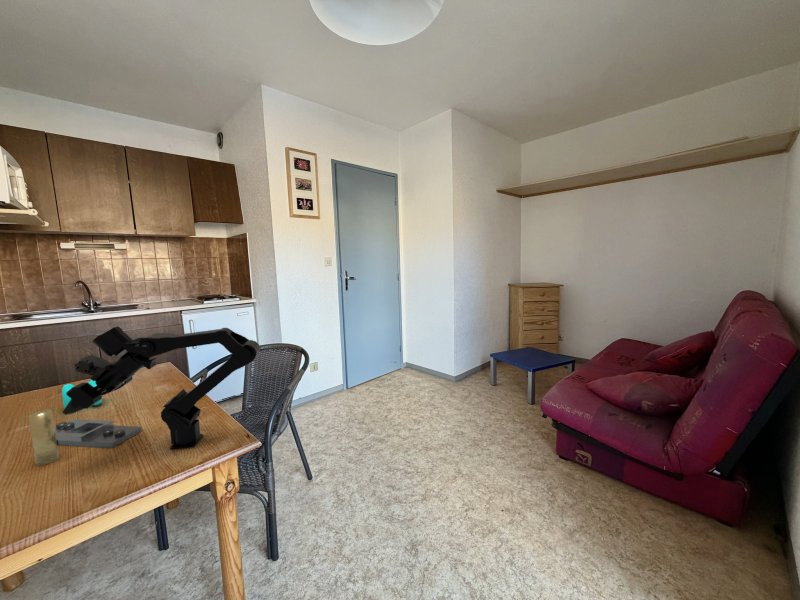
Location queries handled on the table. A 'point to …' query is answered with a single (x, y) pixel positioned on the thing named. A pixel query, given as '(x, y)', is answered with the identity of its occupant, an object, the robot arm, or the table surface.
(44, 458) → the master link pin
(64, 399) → the donuts
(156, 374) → the table surface
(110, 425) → the bolted metal plate
